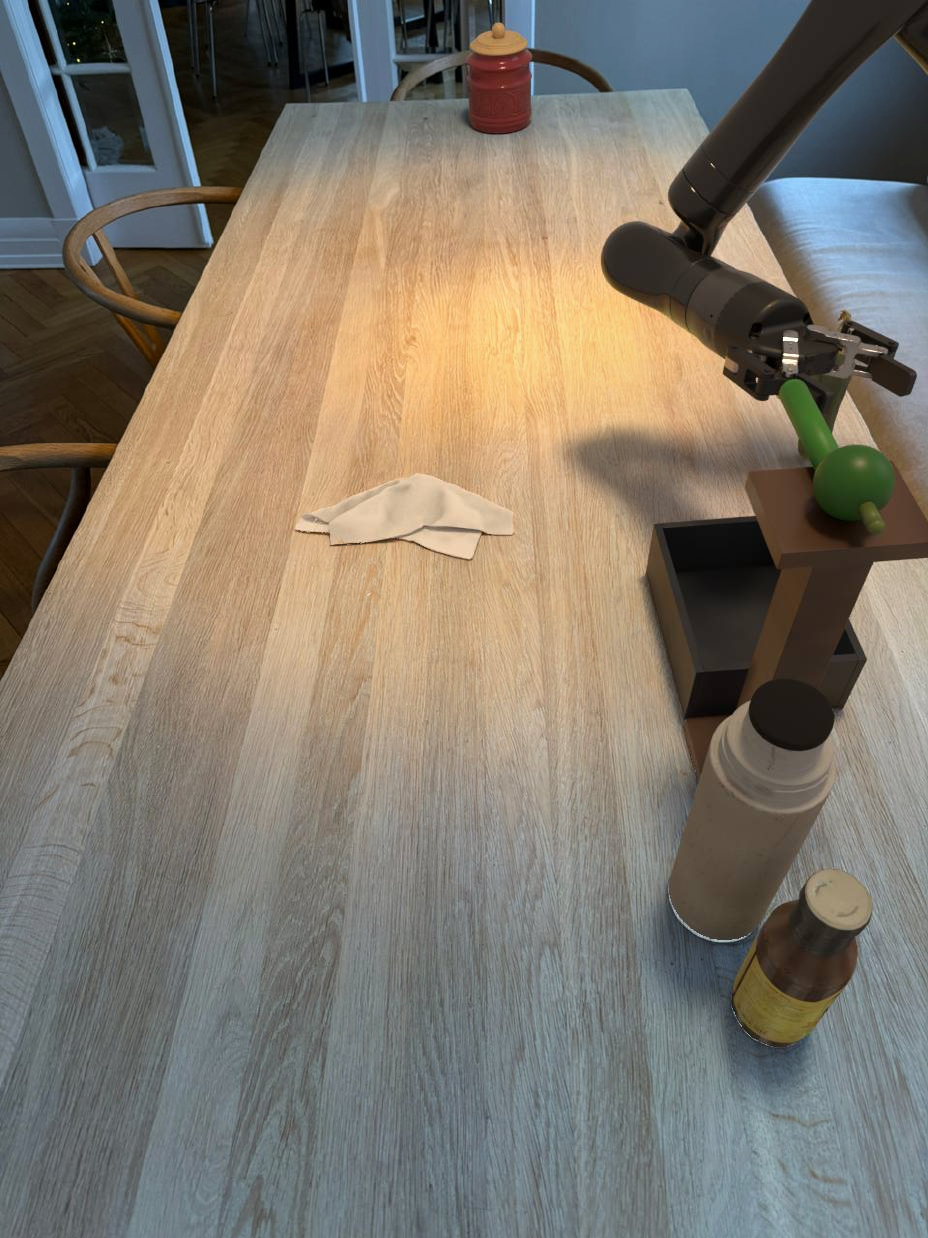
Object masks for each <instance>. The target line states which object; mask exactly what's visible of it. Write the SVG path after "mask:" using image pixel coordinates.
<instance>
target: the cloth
mask: <svg viewBox="0 0 928 1238" xmlns="http://www.w3.org/2000/svg"><path fill="white" fill-rule="evenodd" d="M514 513H515V512H514V511H512V510H510V509H508V508H506V507H504V506H501V505H499V504H497V503H495V502H492V501H491V500H488V499H486V498H485V497H482V496H481V495H479V494H477V493H475V492H472V491H469V490H467V489H465V488H463V487H461V486H458V485H457V484H454V483H453V482H451V483H449V482H447V481H445V480H442V479H440V478H438V477H436V476H433V475H430V474H425V473H419V472H415V473H414V474H411V476H409V477H396V478H394V479H391V480H389V481H387V482H384V483H382V484H380V485H377V486H375V487H372V488H369V489H367V490H365V491H362V492H359V493H355V494H353V495H351V496H349V497H347V498H345V499H344V500H341V501H339V502H338V503H336V504H334V505H333V506H328V507H327V506H325V507H321V508H318V509H317V510H314V511H312V512H305V513H303V514H302V515H300V516H299V518H298V520H297V522H296V525H295V526H294V529H295V531H298V530H300V531H299V532H303V531H307V532H306V533H309V532H308V531H312V532H313V531H317V532H318V531H320V532H322V533H321V534H329V542H330V541H331V542H333V543H334V541H336V540H337V539H338V540H339V541H341V539H342V540H343V541H344V542H345V543H346V542H347V541H348V542H349V543H350V542H354V541H355V542H357V543H359V542H361V543H360V544H365V542H366V543H372V542H378V541H383V540H388V539H395V538H397V539H396V540H404V541H407V542H414V543H416V544H417V545H419V544H420V546H421V545H422V546H421V547H423V546H424V547H423V548H425V547H426V548H425V549H428V550H431V551H433V552H436V553H440V554H443V555H447V556H451V557H454V558H458V559H464V560H469V561H470V560H472V559H473V558H474V555H475V553H476V549H477V546H478V544H479V541H480V538H481V536H482V534H483V533H484V534H487V535H489V534H491V535H490V536H513V535H514V534H515V531H514V529H515V527H514ZM316 518H317V520H316V521H315V519H316ZM314 521H315V522H314ZM313 522H314V523H313ZM320 522H321V523H320ZM318 523H320V524H319V525H318V526H317V524H318ZM316 526H317V527H316ZM315 528H316V529H315ZM314 529H315V530H314ZM323 532H325V533H323ZM513 533H514V534H513ZM398 538H399V539H398Z"/></svg>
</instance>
